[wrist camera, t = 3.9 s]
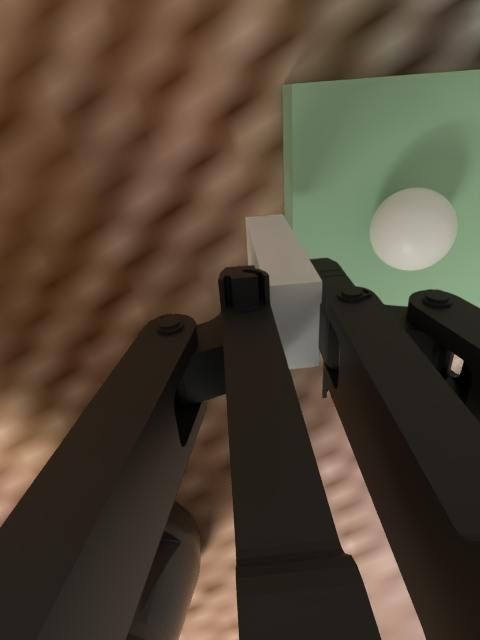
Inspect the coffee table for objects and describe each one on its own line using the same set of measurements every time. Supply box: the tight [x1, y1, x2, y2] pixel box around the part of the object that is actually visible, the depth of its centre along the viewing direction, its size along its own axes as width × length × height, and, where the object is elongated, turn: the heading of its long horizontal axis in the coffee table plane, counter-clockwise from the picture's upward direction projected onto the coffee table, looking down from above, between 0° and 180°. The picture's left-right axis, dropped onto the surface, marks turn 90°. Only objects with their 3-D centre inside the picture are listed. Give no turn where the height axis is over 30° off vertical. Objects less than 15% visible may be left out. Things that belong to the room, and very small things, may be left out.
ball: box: [370, 187, 458, 271], centre depth 18 cm, size 4×4×4 cm
